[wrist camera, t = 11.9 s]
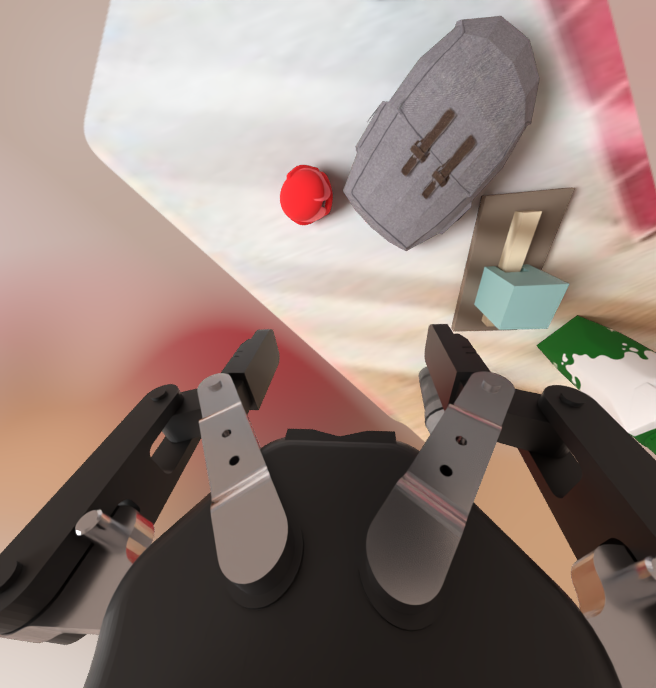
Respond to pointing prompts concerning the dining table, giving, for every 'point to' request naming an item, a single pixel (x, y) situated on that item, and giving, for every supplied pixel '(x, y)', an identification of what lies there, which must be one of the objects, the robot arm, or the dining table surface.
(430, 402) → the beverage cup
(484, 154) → the soft grey pack
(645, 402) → the milk carton
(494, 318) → the saddle block
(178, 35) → the dining table surface
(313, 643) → the robot arm
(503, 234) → the cleat board
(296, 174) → the cap
